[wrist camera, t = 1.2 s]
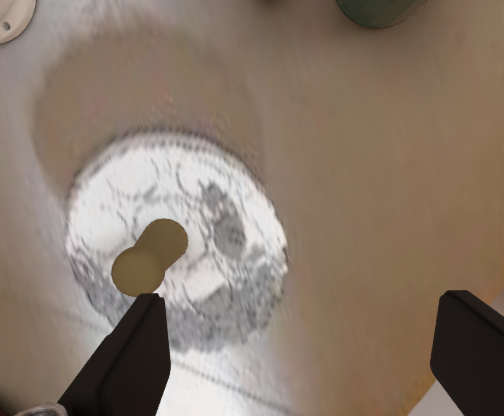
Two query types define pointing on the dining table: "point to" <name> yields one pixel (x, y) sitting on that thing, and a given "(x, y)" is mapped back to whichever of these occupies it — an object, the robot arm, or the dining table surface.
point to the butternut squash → (0, 414)
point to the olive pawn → (149, 258)
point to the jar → (380, 11)
